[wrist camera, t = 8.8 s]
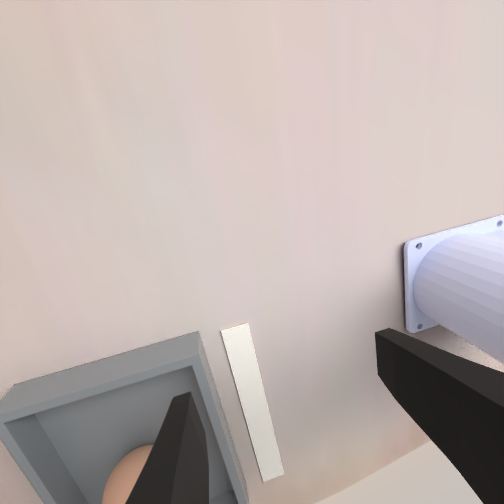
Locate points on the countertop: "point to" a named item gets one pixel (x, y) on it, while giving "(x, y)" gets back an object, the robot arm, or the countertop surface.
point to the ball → (125, 476)
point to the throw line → (253, 399)
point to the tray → (114, 421)
